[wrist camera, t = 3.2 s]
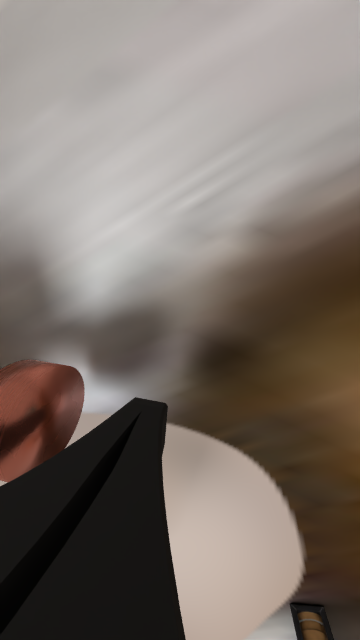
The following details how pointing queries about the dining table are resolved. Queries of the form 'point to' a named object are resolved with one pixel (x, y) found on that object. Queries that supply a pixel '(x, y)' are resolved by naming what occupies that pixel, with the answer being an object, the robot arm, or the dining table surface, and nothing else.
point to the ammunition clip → (311, 622)
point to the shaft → (36, 413)
